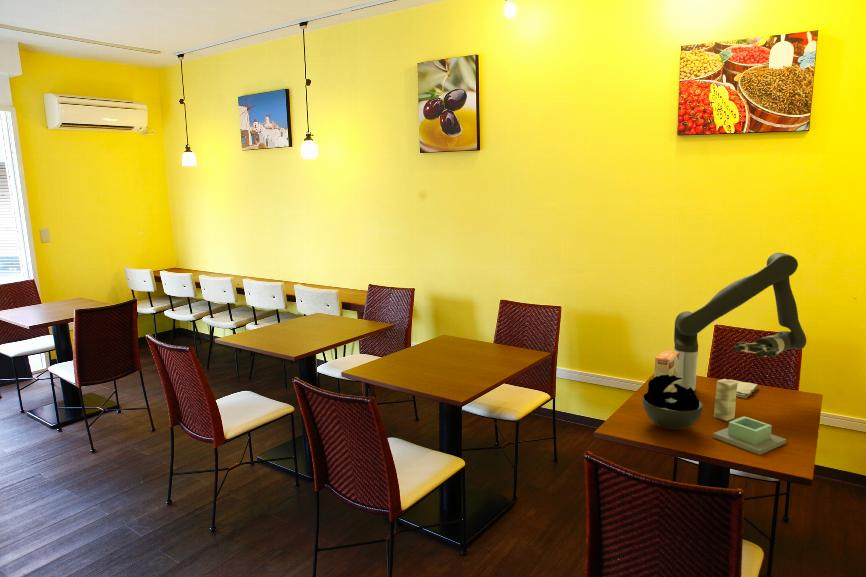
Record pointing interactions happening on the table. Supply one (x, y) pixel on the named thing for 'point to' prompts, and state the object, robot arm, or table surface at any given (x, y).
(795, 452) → the table surface
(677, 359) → the cracker box
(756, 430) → the socket holder
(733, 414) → the square peg
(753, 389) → the washcloth
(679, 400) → the coal bowl
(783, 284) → the robot arm
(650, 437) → the table surface
